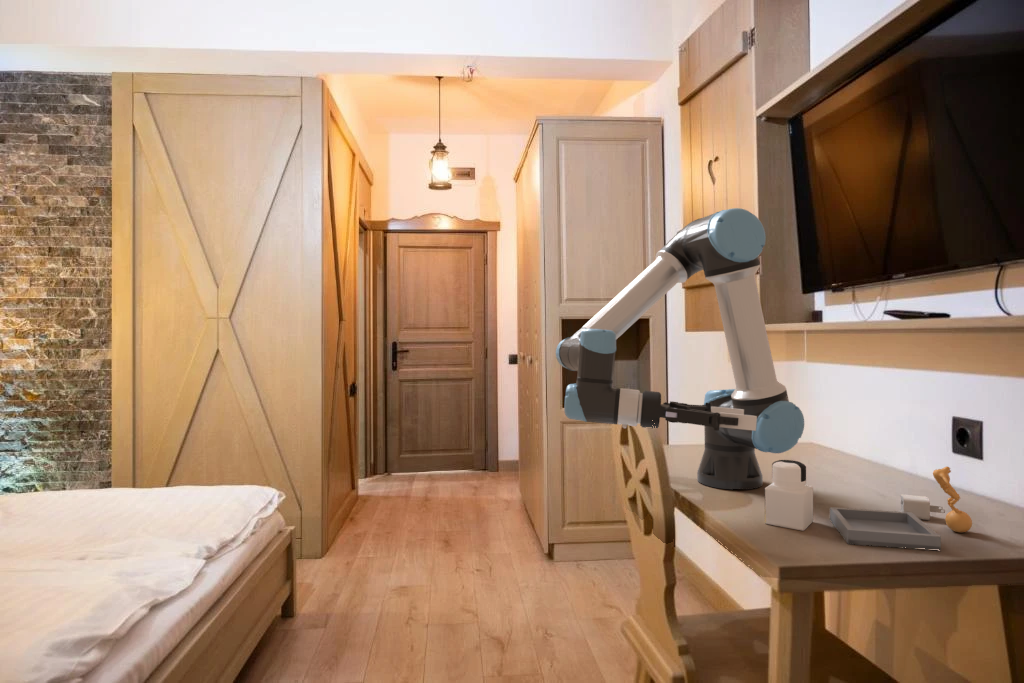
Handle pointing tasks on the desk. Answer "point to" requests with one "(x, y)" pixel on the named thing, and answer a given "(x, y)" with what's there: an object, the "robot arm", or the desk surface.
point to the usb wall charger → (918, 506)
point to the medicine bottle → (789, 496)
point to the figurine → (952, 503)
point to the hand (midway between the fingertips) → (749, 419)
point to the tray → (883, 528)
